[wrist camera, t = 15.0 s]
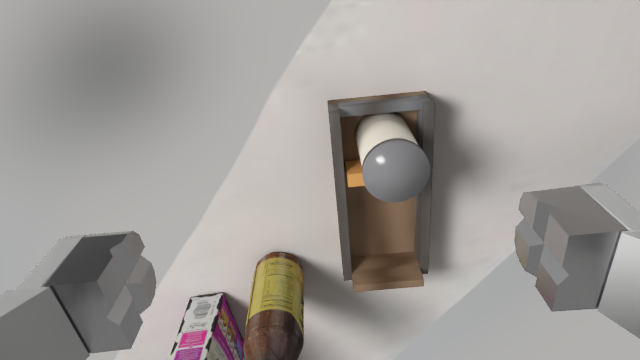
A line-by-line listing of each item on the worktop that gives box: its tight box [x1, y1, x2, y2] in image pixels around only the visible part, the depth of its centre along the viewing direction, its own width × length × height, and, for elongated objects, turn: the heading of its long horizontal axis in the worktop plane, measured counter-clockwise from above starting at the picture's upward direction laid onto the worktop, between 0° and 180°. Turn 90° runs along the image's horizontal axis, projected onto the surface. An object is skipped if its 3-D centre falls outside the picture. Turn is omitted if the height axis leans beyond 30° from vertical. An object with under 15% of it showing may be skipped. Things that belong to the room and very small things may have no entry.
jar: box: [355, 112, 430, 202], centre depth 40 cm, size 6×6×9 cm
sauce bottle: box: [244, 252, 304, 360], centre depth 45 cm, size 6×6×20 cm
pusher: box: [345, 160, 365, 187], centre depth 44 cm, size 7×2×3 cm, turn 95°
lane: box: [328, 91, 435, 292], centre depth 45 cm, size 10×21×6 cm, turn 5°
